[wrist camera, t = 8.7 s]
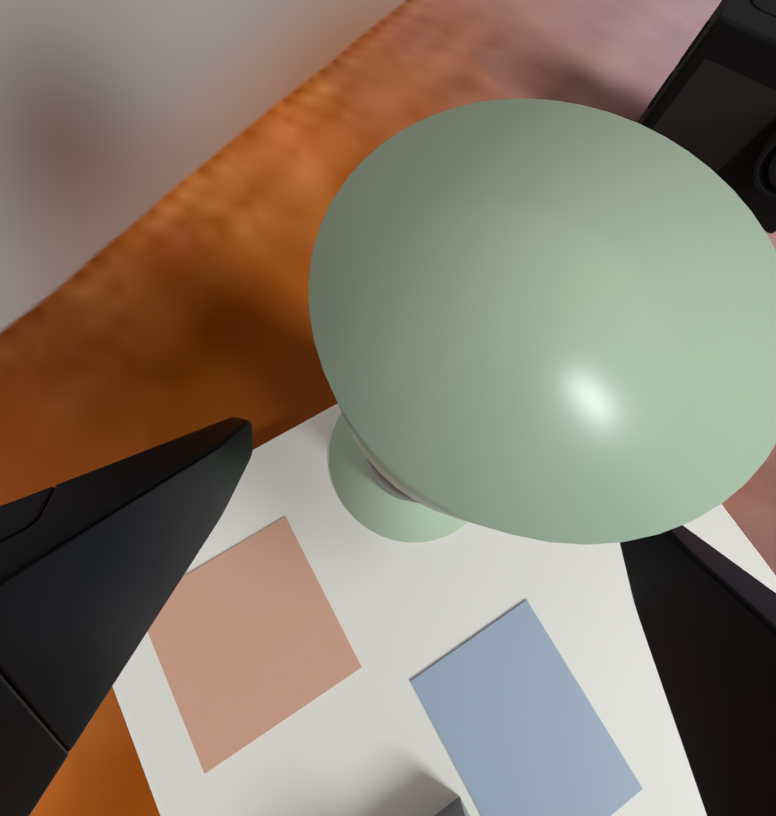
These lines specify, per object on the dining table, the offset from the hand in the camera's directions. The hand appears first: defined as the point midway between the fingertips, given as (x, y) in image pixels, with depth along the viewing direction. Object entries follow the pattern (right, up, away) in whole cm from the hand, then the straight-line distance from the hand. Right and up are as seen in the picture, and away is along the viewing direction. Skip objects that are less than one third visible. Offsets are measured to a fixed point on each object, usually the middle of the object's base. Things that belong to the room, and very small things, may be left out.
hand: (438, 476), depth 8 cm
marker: (0, -1, +9) cm, 9 cm away
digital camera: (+18, +16, +14) cm, 28 cm away
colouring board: (+2, -9, +8) cm, 12 cm away
